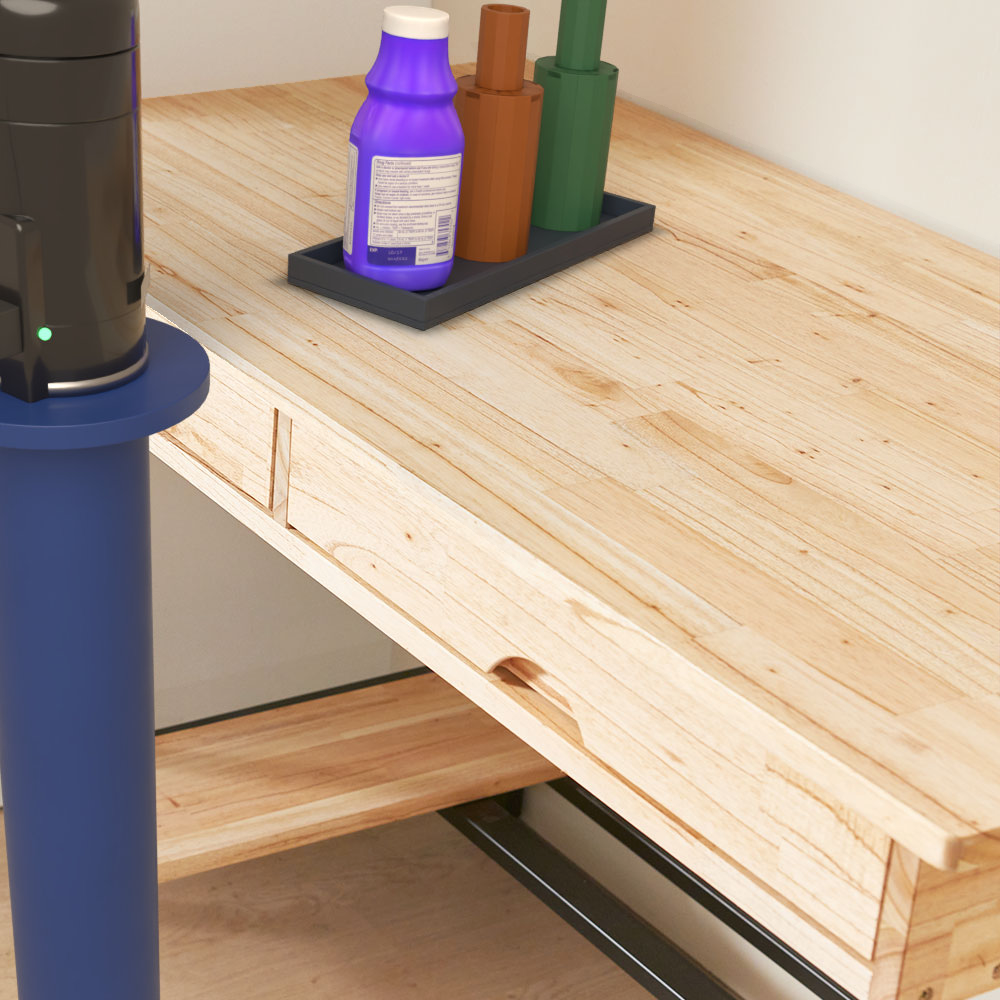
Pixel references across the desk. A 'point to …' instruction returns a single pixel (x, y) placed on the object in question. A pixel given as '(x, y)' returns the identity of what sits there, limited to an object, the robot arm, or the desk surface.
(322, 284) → the tray
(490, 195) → the amber bottle
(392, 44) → the bottle
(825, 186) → the desk surface
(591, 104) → the green bottle
